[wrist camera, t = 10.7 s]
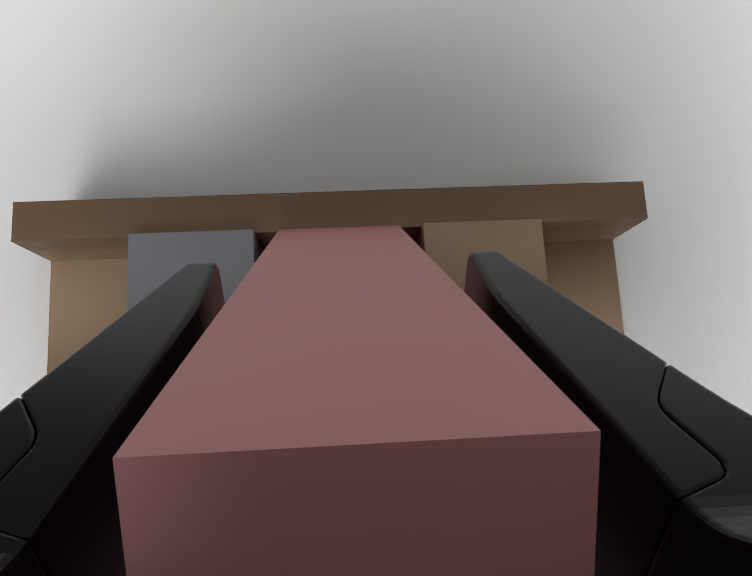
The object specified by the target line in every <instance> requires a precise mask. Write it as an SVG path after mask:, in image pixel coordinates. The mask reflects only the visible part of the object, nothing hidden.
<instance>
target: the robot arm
mask: <svg viewBox="0 0 752 576" xmlns="http://www.w3.org/2000/svg"><path fill="white" fill-rule="evenodd" d="M464 292H465V293H466V294H467V295H468V296H469V297H470V298H471V299H472V300H473V301H474V302H475V303H476V304H477V305H478V306H479V307H480V309H481V310H482V311H483V312H484V313H485V314H486V315H487V316H488V317H489V318H490V319H491V320H492V321H493V322H494V323H495V324H496V325H497V326H498V327H499V328H500V329H501V330H502V331H503V332H504V333H505V334H506V335H507V336H508V337H509V338H510V339H511V340H512V341H513V342H514V343H515V344H516V345H517V346H518V347H519V348H520V349H521V350H522V351H523V352H524V353H525V354H526V355H527V356H528V357H529V358H530V359H531V360H532V361H533V362H534V363H535V364H536V365H537V366H538V367H539V369H540V370H541V371H542V372H543V373H544V374H545V375H546V376H547V377H548V378H549V379H550V380H551V381H552V382H553V383H554V384H555V385H556V386H557V387H558V388H559V389H560V390H561V391H562V392H563V393H564V394H565V395H566V396H567V397H568V398H569V399H570V400H571V401H572V402H573V403H574V404H575V405H576V406H577V407H578V408H579V409H580V410H581V411H582V412H583V413H584V414H585V415H586V416H587V417H588V418H589V419H590V420H591V421H592V422H593V423H594V424H595V425H596V426H597V427H598V428H599V430H600V431H601V437H600V459H599V481H598V503H597V526H596V548H595V570H594V576H752V415H750V414H748V413H747V412H745V411H743V410H741V409H740V408H738V407H736V406H734V405H733V404H731V403H729V402H728V401H726V400H724V399H723V398H721V397H720V396H718V395H716V394H715V393H713V392H712V391H710V390H708V389H707V388H705V387H704V386H702V385H700V384H699V383H697V382H696V381H694V380H693V379H691V378H689V377H688V376H686V375H685V374H683V373H682V372H680V371H679V370H677V369H676V368H674V367H673V366H671V365H669V366H667V367H666V365H667V364H666V362H665V361H663V360H662V359H660V358H659V357H657V356H656V355H654V354H653V353H651V352H650V351H648V350H647V349H645V348H643V347H642V346H640V345H639V344H637V343H636V342H634V341H633V340H631V339H630V338H628V337H627V336H625V335H624V334H622V333H621V332H619V331H618V330H616V329H615V328H613V327H611V326H610V325H608V324H607V323H605V322H604V321H602V320H601V319H599V318H598V317H596V316H595V315H593V314H592V313H590V312H589V311H587V310H586V309H584V308H583V307H581V306H579V305H578V304H576V303H575V302H573V301H572V300H570V299H569V298H567V297H566V296H564V295H563V294H561V293H560V292H558V291H557V290H555V289H554V288H552V287H551V286H549V285H547V284H546V283H544V282H543V281H541V280H540V279H538V278H537V277H535V276H534V275H532V274H531V273H529V272H528V271H526V270H525V269H523V268H522V267H520V266H519V265H517V264H515V263H514V262H512V261H511V260H509V259H508V258H506V257H505V256H503V255H502V254H500V253H498V252H495V251H489V252H473V253H471V254H470V255H469V257H468V260H467V268H466V278H465V288H464ZM224 305H225V301H224V295H223V289H222V283H221V277H220V271H219V268H218V266H217V265H216V264H215V263H213V262H203V263H188V264H186V265H185V266H183V267H182V268H181V269H180V270H178V271H177V272H176V273H175V274H173V275H172V276H171V277H170V278H168V279H167V280H166V281H164V282H163V283H162V284H161V285H159V286H158V287H157V288H156V289H154V290H153V291H152V292H151V293H149V294H148V295H147V296H145V297H144V298H143V299H142V300H140V301H139V302H138V303H137V304H135V305H134V306H133V307H132V308H130V309H129V310H128V311H126V312H125V313H124V314H123V315H121V316H120V317H119V318H118V319H116V320H115V321H114V322H113V323H111V324H110V325H109V326H107V327H106V328H105V329H104V330H102V331H101V332H100V333H99V334H97V335H96V336H95V337H94V338H92V339H91V340H90V341H88V342H87V343H86V344H85V345H83V346H82V347H81V348H80V349H78V350H77V351H76V352H75V353H73V354H72V355H71V356H69V357H68V358H67V359H66V360H64V361H63V362H62V363H61V364H59V365H58V366H57V367H56V368H54V369H53V370H52V371H50V372H49V373H48V374H47V375H45V376H44V377H43V378H42V379H40V380H39V381H38V382H36V383H35V384H34V385H33V386H31V387H30V388H29V389H28V390H26V391H25V392H24V393H23V394H22V395H21V398H22V399H21V398H16V399H15V400H13V401H12V402H11V403H10V404H8V405H7V406H6V407H5V408H3V409H2V410H1V411H0V576H126V567H125V559H124V551H123V542H122V534H121V525H120V517H119V509H118V500H117V492H116V484H115V475H114V467H113V459H112V458H113V457H114V455H115V454H116V452H117V451H118V450H119V448H120V447H121V446H122V444H123V443H124V442H125V440H126V439H127V437H128V436H129V435H130V433H131V432H132V431H133V429H134V428H135V426H136V425H137V424H138V422H139V421H140V420H141V418H142V417H143V416H144V414H145V413H146V411H147V410H148V409H149V407H150V406H151V405H152V403H153V402H154V400H155V399H156V398H157V396H158V395H159V394H160V392H161V391H162V389H163V388H164V387H165V385H166V384H167V383H168V381H169V380H170V379H171V377H172V376H173V374H174V373H175V372H176V370H177V369H178V368H179V366H180V365H181V363H182V362H183V361H184V359H185V358H186V357H187V355H188V354H189V353H190V351H191V350H192V348H193V347H194V346H195V344H196V343H197V342H198V340H199V339H200V337H201V336H202V335H203V333H204V332H205V331H206V329H207V328H208V327H209V325H210V324H211V322H212V321H213V320H214V318H215V317H216V316H217V314H218V313H219V311H220V310H221V309H222V307H223V306H224Z"/></svg>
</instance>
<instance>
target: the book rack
mask: <svg viewBox="0 0 752 576" xmlns="http://www.w3.org/2000/svg"><path fill="white" fill-rule="evenodd" d="M647 218H648V217H647V209H646V201H645V194H644V186H643V181H639V182H608V183H578V184H548V185H518V186H488V187H458V188H428V189H398V190H367V191H337V192H307V193H277V194H247V195H217V196H187V197H156V198H126V199H96V200H66V201H36V202H13V217H12V238H11V242H13V243H15V244H17V245H19V246H21V247H23V248H25V249H28V250H30V251H32V252H34V253H36V254H38V255H40V256H42V257H44V258H46V259H48V260H50V261H51V285H50V311H49V338H48V365H47V374H48V373H49V372H50V371H52V370H53V369H54V368H56V367H57V366H58V365H59V364H61V363H62V362H63V361H64V360H66V359H67V358H68V357H69V356H71V355H72V354H73V353H75V352H76V351H77V350H78V349H80V348H81V347H82V346H83V345H85V344H86V343H87V342H88V341H90V340H91V339H92V338H94V337H95V336H96V335H97V334H99V333H100V332H101V331H102V330H104V329H105V328H106V327H107V326H109V325H110V324H111V323H113V322H114V321H115V320H116V319H118V318H119V317H120V316H121V315H123V314H124V313H125V312H126V311H128V310H129V309H130V308H132V307H133V306H134V305H135V304H137V303H138V302H139V301H140V300H142V299H143V298H144V297H145V296H147V295H148V294H149V293H151V292H152V291H153V290H154V289H156V288H157V287H158V286H159V285H161V284H162V283H163V282H164V281H166V280H167V279H168V278H170V277H171V276H172V275H173V274H175V273H176V272H177V271H178V270H180V269H181V268H182V267H183V266H185V265H186V264H188V263H203V262H213V263H215V264H216V265H217V266H218V268H219V271H220V277H221V283H222V289H223V295H224V301H225V303H226V302H227V301H228V299H229V298H230V296H231V295H232V294H233V292H234V291H235V290H236V288H237V287H238V285H239V284H240V283H241V281H242V280H243V279H244V277H245V276H246V274H247V273H248V272H249V270H250V269H251V268H252V266H253V265H254V264H255V262H256V261H257V259H258V258H259V257H260V255H261V254H262V253H263V251H264V250H265V248H266V247H267V246H268V244H269V243H270V242H271V240H272V239H273V238H274V236H275V235H276V233H277V232H278V231H279V230H280V229H308V228H336V227H365V226H393V225H399V226H400V227H401V228H402V229H403V230H404V231H405V232H406V233H407V234H408V235H409V236H410V237H411V238H412V239H413V240H414V241H415V242H416V243H417V244H418V245H419V246H420V248H421V249H422V250H423V251H424V252H425V253H426V254H427V255H428V256H429V257H430V258H431V259H432V260H433V261H434V262H435V263H436V264H437V265H438V266H439V267H440V268H441V269H442V270H443V271H444V272H445V273H446V274H447V275H448V276H449V277H450V278H451V279H452V280H453V281H454V282H455V283H456V284H457V285H458V286H459V287H460V288H461V289H462V290H463V291H464V288H465V278H466V268H467V260H468V257H469V255H470V254H471V253H473V252H489V251H495V252H498V253H500V254H502V255H503V256H505V257H506V258H508V259H509V260H511V261H512V262H514V263H515V264H517V265H519V266H520V267H522V268H523V269H525V270H526V271H528V272H529V273H531V274H532V275H534V276H535V277H537V278H538V279H540V280H541V281H543V282H544V283H546V284H547V285H549V286H551V287H552V288H554V289H555V290H557V291H558V292H560V293H561V294H563V295H564V296H566V297H567V298H569V299H570V300H572V301H573V302H575V303H576V304H578V305H579V306H581V307H583V308H584V309H586V310H587V311H589V312H590V313H592V314H593V315H595V316H596V317H598V318H599V319H601V320H602V321H604V322H605V323H607V324H608V325H610V326H611V327H613V328H615V329H616V330H618V331H619V332H621V333H622V334H624V330H623V322H622V314H621V305H620V297H619V289H618V280H617V272H616V264H615V255H614V247H613V239H614V238H616V237H618V236H619V235H621V234H622V233H624V232H626V231H627V230H629V229H631V228H632V227H634V226H636V225H637V224H639V223H641V222H642V221H644V220H645V219H647Z"/></svg>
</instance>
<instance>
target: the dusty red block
mask: <svg viewBox="0 0 752 576" xmlns="http://www.w3.org/2000/svg"><path fill="white" fill-rule="evenodd" d="M600 437H601V431H600V430H599V428H598V427H597V426H596V425H595V424H594V423H593V422H592V421H591V420H590V419H589V418H588V417H587V416H586V415H585V414H584V413H583V412H582V411H581V410H580V409H579V408H578V407H577V406H576V405H575V404H574V403H573V402H572V401H571V400H570V399H569V398H568V397H567V396H566V395H565V394H564V393H563V392H562V391H561V390H560V389H559V388H558V387H557V386H556V385H555V384H554V383H553V382H552V381H551V380H550V379H549V378H548V377H547V376H546V375H545V374H544V373H543V372H542V371H541V370H540V369H539V367H538V366H537V365H536V364H535V363H534V362H533V361H532V360H531V359H530V358H529V357H528V356H527V355H526V354H525V353H524V352H523V351H522V350H521V349H520V348H519V347H518V346H517V345H516V344H515V343H514V342H513V341H512V340H511V339H510V338H509V337H508V336H507V335H506V334H505V333H504V332H503V331H502V330H501V329H500V328H499V327H498V326H497V325H496V324H495V323H494V322H493V321H492V320H491V319H490V318H489V317H488V316H487V315H486V314H485V313H484V312H483V311H482V310H481V309H480V307H479V306H478V305H477V304H476V303H475V302H474V301H473V300H472V299H471V298H470V297H469V296H468V295H467V294H466V293H465V292H464V291H463V290H462V289H461V288H460V287H459V286H458V285H457V284H456V283H455V282H454V281H453V280H452V279H451V278H450V277H449V276H448V275H447V274H446V273H445V272H444V271H443V270H442V269H441V268H440V267H439V266H438V265H437V264H436V263H435V262H434V261H433V260H432V259H431V258H430V257H429V256H428V255H427V254H426V253H425V252H424V251H423V250H422V249H421V248H420V246H419V245H418V244H417V243H416V242H415V241H414V240H413V239H412V238H411V237H410V236H409V235H408V234H407V233H406V232H405V231H404V230H403V229H402V228H401V227H400V226H399V225H393V226H365V227H336V228H308V229H280V230H279V231H278V232H277V233H276V235H275V236H274V238H273V239H272V240H271V242H270V243H269V244H268V246H267V247H266V248H265V250H264V251H263V253H262V254H261V255H260V257H259V258H258V259H257V261H256V262H255V264H254V265H253V266H252V268H251V269H250V270H249V272H248V273H247V274H246V276H245V277H244V279H243V280H242V281H241V283H240V284H239V285H238V287H237V288H236V290H235V291H234V292H233V294H232V295H231V296H230V298H229V299H228V301H227V302H226V303H225V305H224V306H223V307H222V309H221V310H220V311H219V313H218V314H217V316H216V317H215V318H214V320H213V321H212V322H211V324H210V325H209V327H208V328H207V329H206V331H205V332H204V333H203V335H202V336H201V337H200V339H199V340H198V342H197V343H196V344H195V346H194V347H193V348H192V350H191V351H190V353H189V354H188V355H187V357H186V358H185V359H184V361H183V362H182V363H181V365H180V366H179V368H178V369H177V370H176V372H175V373H174V374H173V376H172V377H171V379H170V380H169V381H168V383H167V384H166V385H165V387H164V388H163V389H162V391H161V392H160V394H159V395H158V396H157V398H156V399H155V400H154V402H153V403H152V405H151V406H150V407H149V409H148V410H147V411H146V413H145V414H144V416H143V417H142V418H141V420H140V421H139V422H138V424H137V425H136V426H135V428H134V429H133V431H132V432H131V433H130V435H129V436H128V437H127V439H126V440H125V442H124V443H123V444H122V446H121V447H120V448H119V450H118V451H117V452H116V454H115V455H114V457H113V458H112V459H113V467H114V475H115V484H116V492H117V500H118V509H119V517H120V525H121V534H122V542H123V551H124V559H125V567H126V576H594V570H595V548H596V526H597V503H598V481H599V459H600Z"/></svg>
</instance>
